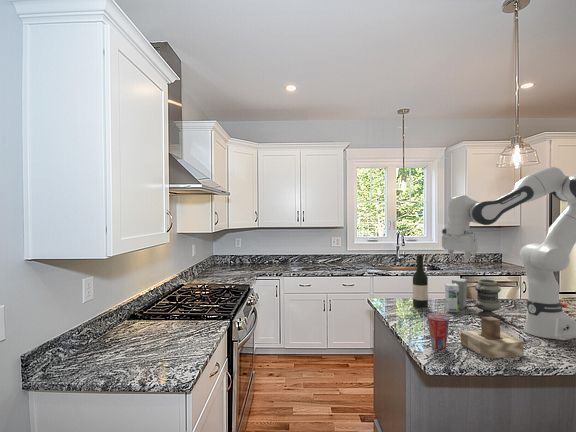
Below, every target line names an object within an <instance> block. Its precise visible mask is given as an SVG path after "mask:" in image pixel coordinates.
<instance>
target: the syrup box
mask: <svg viewBox="0 0 576 432" xmlns="http://www.w3.org/2000/svg"><path fill="white" fill-rule="evenodd" d="M444 289H445V292H444V293H445V294H444V295H445V297H444V299H445V300H444V301H445V302H444V303H445V310H446V311H447V312H449V313H459V312H460V309H459V285H457V284H452V283H445V284H444Z"/></svg>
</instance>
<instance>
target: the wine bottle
mask: <svg viewBox="0 0 576 432" xmlns="http://www.w3.org/2000/svg"><path fill="white" fill-rule="evenodd" d="M428 282H429V280H428V275H427V274H426V272H425V271H424V255H423V254H422V253H417V255H416V271H415V272H414V274H413V276H412V307H415V308H418V309H419V308H421V309H424V308H428V307H429V283H428Z"/></svg>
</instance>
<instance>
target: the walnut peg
mask: <svg viewBox="0 0 576 432" xmlns="http://www.w3.org/2000/svg"><path fill="white" fill-rule="evenodd" d="M480 320H481V321H480V322H481V323H480V327H481V329H480V330H481V336H482V337H484V338H486V339H489V340H496V339H500V332H501V319H499V318H498V317H497V318H494V317H482V316H480Z"/></svg>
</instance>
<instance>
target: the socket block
mask: <svg viewBox="0 0 576 432" xmlns="http://www.w3.org/2000/svg"><path fill="white" fill-rule="evenodd" d="M460 345H461V346H464V347H465V348H467V349H469V350H471V351H473V352H475V353H477V354H478V355H480V356H482V357H485V359H488V360H490V359H499V358H509V357H517V356H519V357H520V356H524V355H525V354H524V353H525V351H524V348H525V346H524V341H523V340H520V339H518V338H515V337H513V336H511V335H508V334H505V333H503V332H502V331H500V339H496V340H489V339H486V338H484V337H482V336H481V329H475V330H465V331H460Z"/></svg>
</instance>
